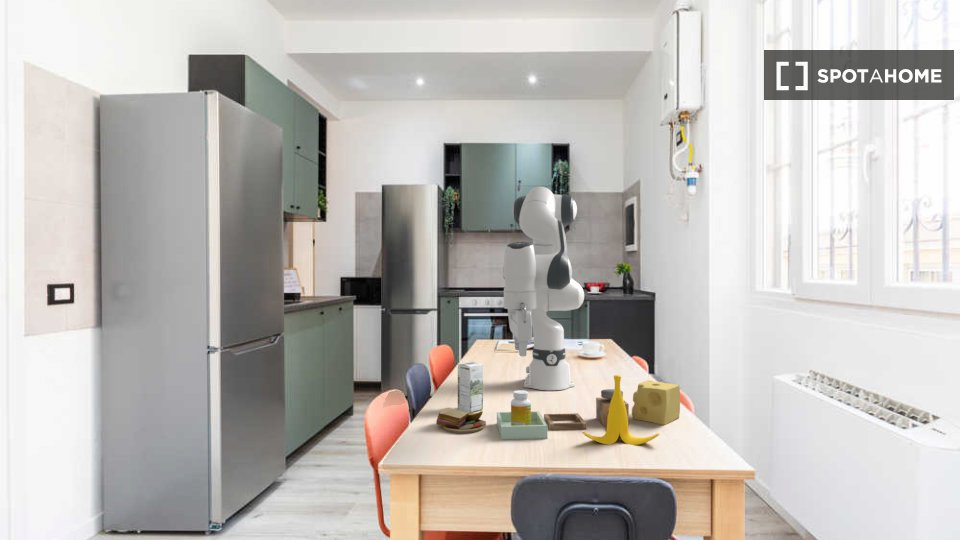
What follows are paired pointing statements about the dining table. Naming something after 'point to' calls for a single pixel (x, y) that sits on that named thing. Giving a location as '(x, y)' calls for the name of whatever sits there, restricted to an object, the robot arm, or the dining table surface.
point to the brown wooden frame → (565, 426)
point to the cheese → (656, 402)
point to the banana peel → (618, 421)
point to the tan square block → (606, 406)
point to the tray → (521, 427)
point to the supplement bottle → (520, 409)
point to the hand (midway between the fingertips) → (520, 352)
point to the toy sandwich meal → (460, 421)
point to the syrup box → (470, 387)
